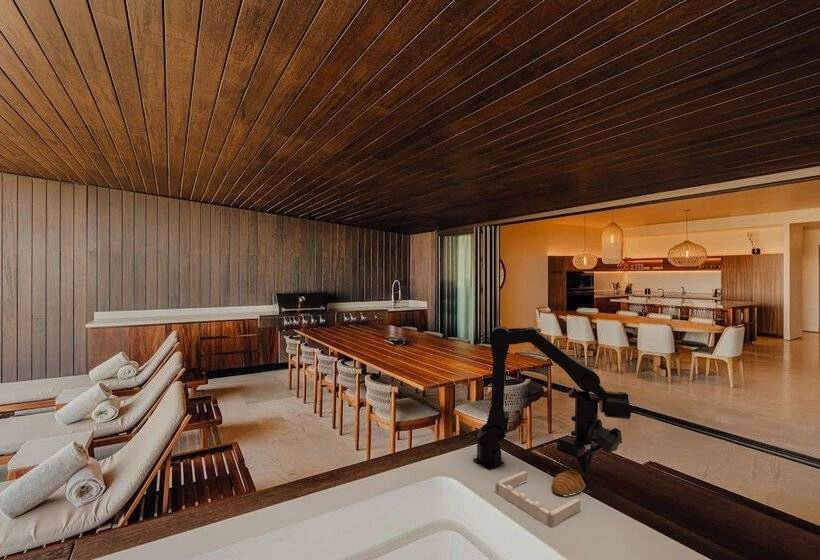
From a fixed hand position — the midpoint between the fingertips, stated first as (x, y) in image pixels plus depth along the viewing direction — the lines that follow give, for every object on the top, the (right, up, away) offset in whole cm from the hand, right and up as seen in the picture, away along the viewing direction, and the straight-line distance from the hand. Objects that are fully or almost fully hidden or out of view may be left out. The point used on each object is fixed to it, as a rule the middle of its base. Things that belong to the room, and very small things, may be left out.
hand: (585, 471), depth 103 cm
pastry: (-7, -2, -6) cm, 9 cm away
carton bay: (-17, -1, -12) cm, 21 cm away
